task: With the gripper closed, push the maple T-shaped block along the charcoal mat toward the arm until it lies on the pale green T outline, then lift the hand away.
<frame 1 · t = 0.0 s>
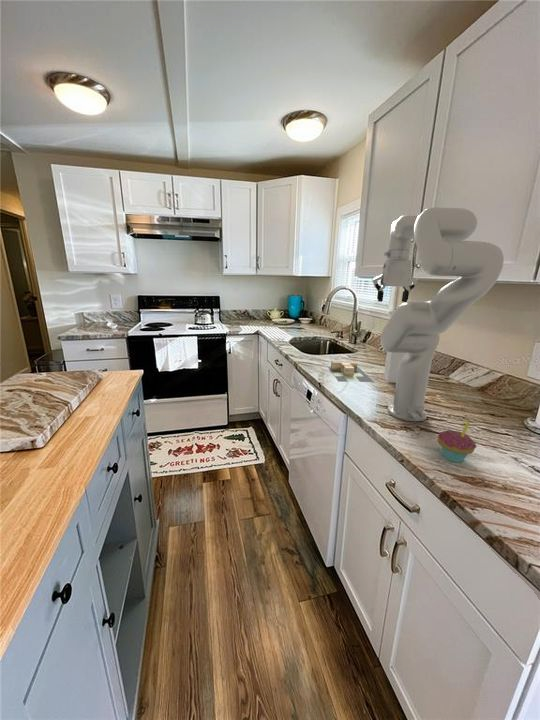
hand: (392, 301, 117), 37 cm above the countertop, tool pointing down, fingers open, 9 cm apart
cupcake: (452, 457, 79), on the countertop
t block: (345, 372, 144), point 1 cm above the countertop, touching board
board: (349, 376, 142), on the countertop
milk carton: (393, 382, 135), on the countertop
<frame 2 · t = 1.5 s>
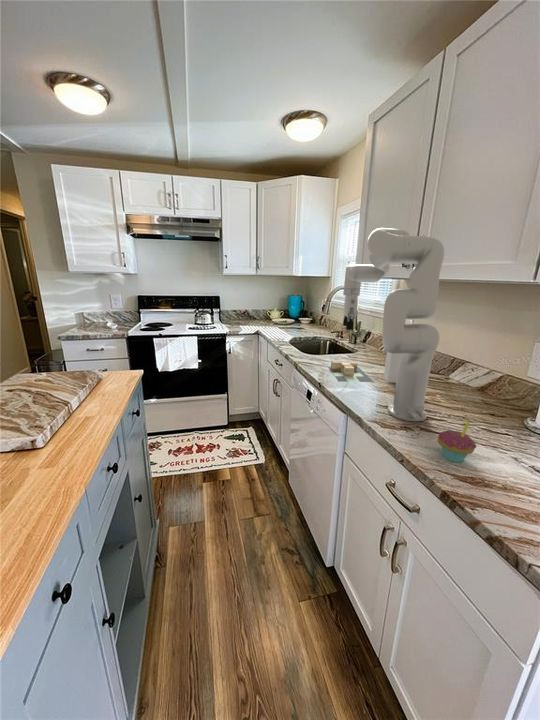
hand: (347, 327, 147), 22 cm above the countertop, tool pointing down, fingers open, 9 cm apart
nothing on the countertop moved.
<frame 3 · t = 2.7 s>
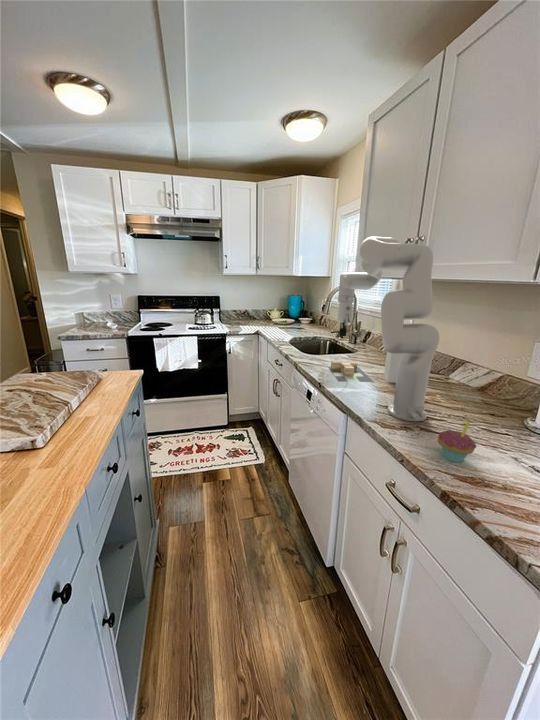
hand: (342, 335, 151), 17 cm above the countertop, tool pointing down, fingers closed
nothing on the countertop moved.
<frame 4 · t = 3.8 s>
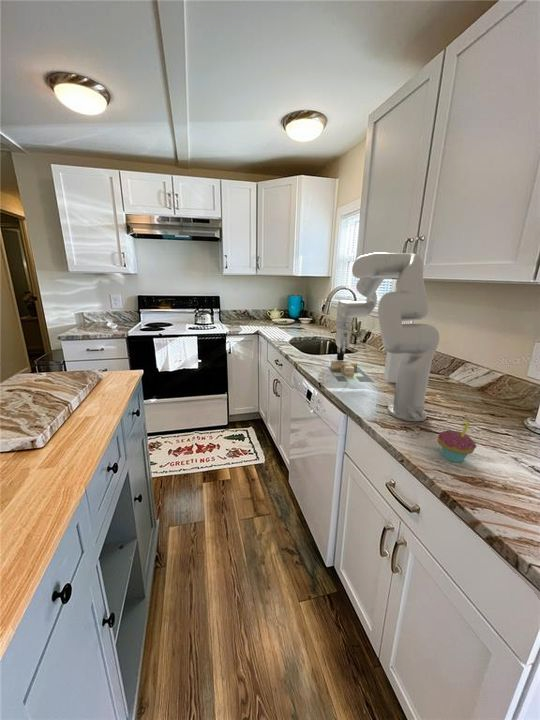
hand: (340, 360, 155), 4 cm above the countertop, tool pointing down, fingers closed
nothing on the countertop moved.
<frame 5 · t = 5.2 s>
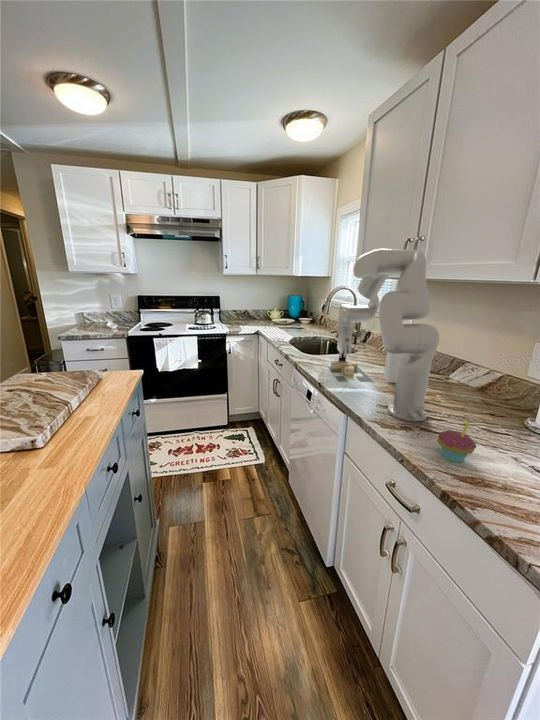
hand: (341, 365, 152), 2 cm above the countertop, tool pointing down, fingers closed
t block: (345, 372, 144), point 1 cm above the countertop, touching board, gripper
everything else where it was.
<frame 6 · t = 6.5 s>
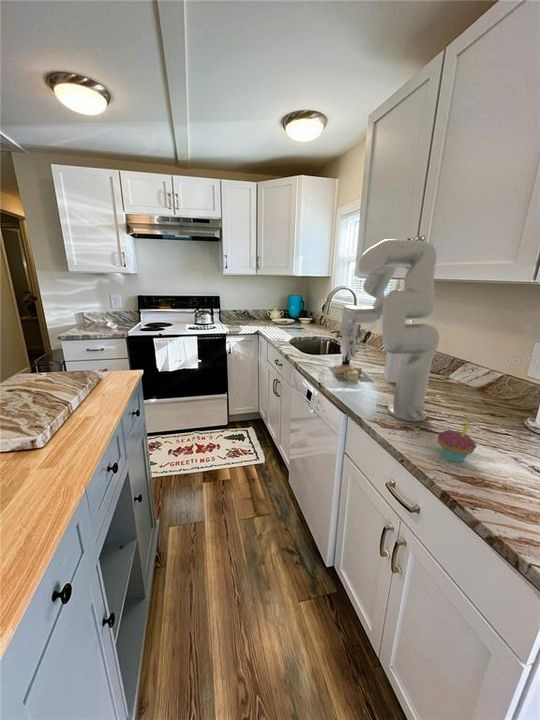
hand: (345, 369, 145), 2 cm above the countertop, tool pointing down, fingers closed
t block: (349, 376, 138), point 1 cm above the countertop, touching board, gripper
everything else where it was.
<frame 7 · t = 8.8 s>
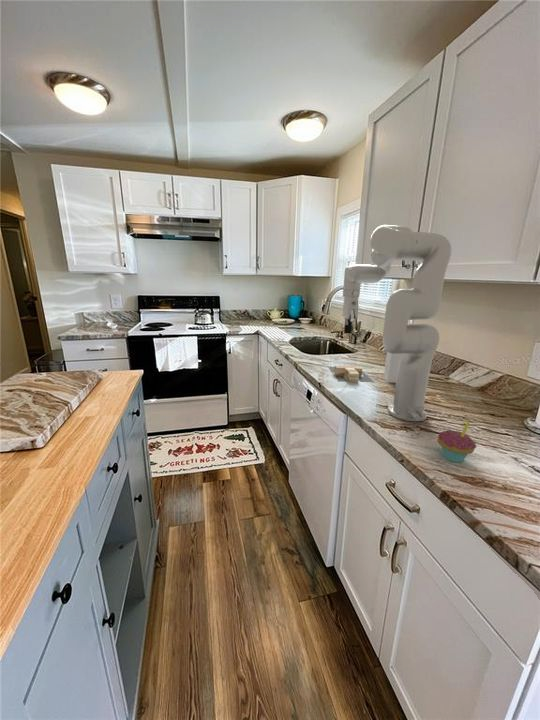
hand: (347, 333, 142), 20 cm above the countertop, tool pointing down, fingers closed
t block: (349, 377, 137), point 1 cm above the countertop, touching board
everything else where it was.
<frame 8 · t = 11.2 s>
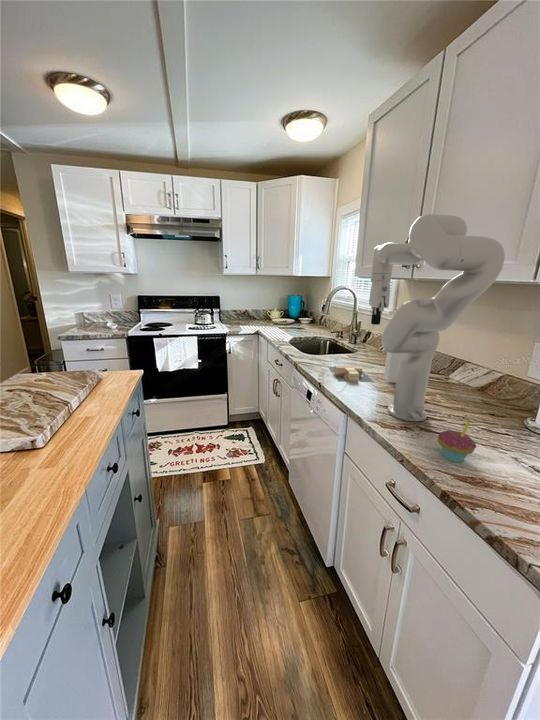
hand: (375, 324, 124), 27 cm above the countertop, tool pointing down, fingers closed
nothing on the countertop moved.
at the end: t block 0.7 cm from the target spot, point 1.1 cm above the countertop; t block tilted 0° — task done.
